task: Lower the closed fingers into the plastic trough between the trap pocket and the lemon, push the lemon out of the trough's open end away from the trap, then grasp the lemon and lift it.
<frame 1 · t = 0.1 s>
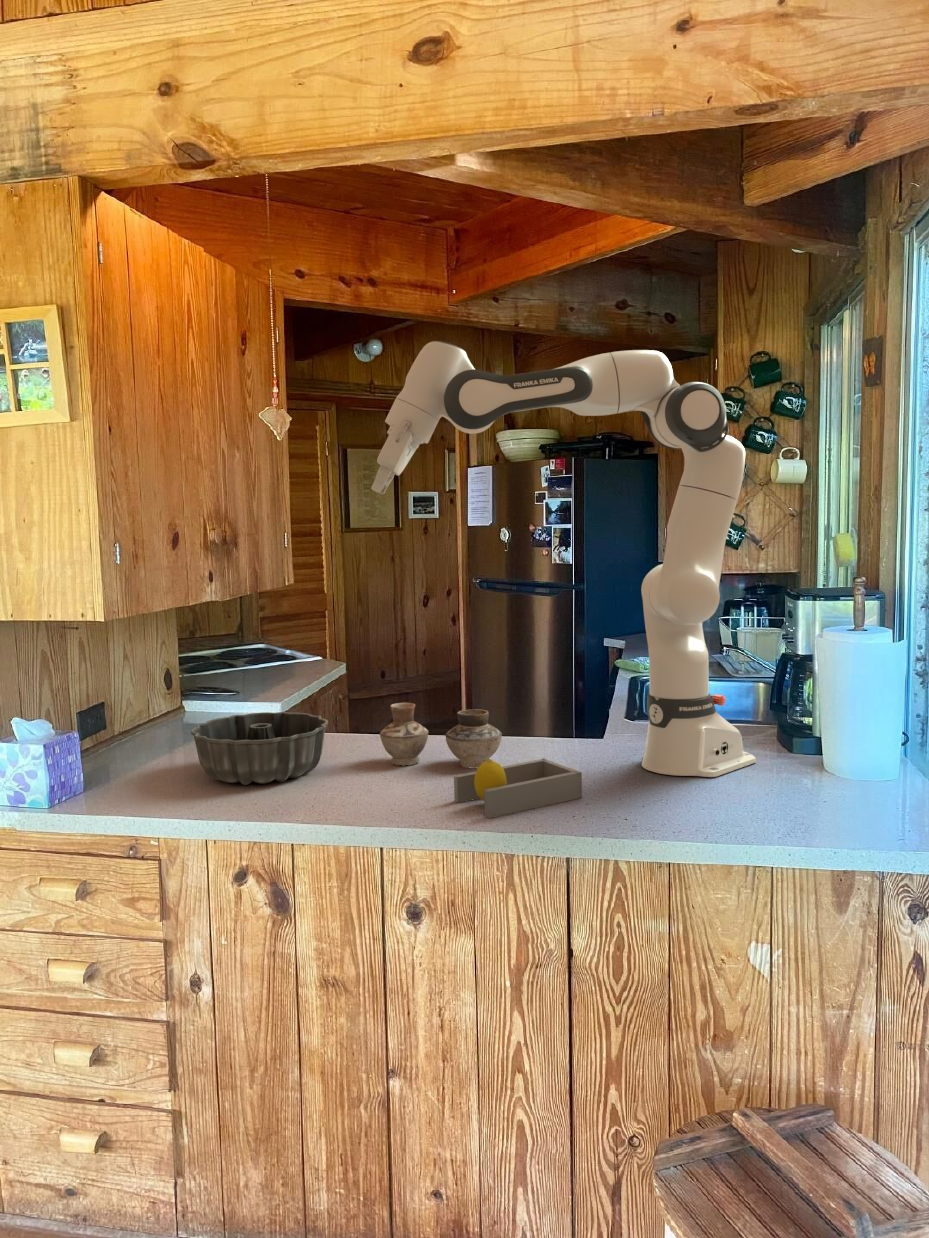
hand: (377, 492, 170), 54 cm above the worktop, tool tilted 30°, fingers open, 8 cm apart
trough: (501, 802, 158), on the worktop
pottery: (441, 764, 185), on the worktop
bundt pan: (263, 774, 182), on the worktop
lemon: (491, 806, 157), on the worktop
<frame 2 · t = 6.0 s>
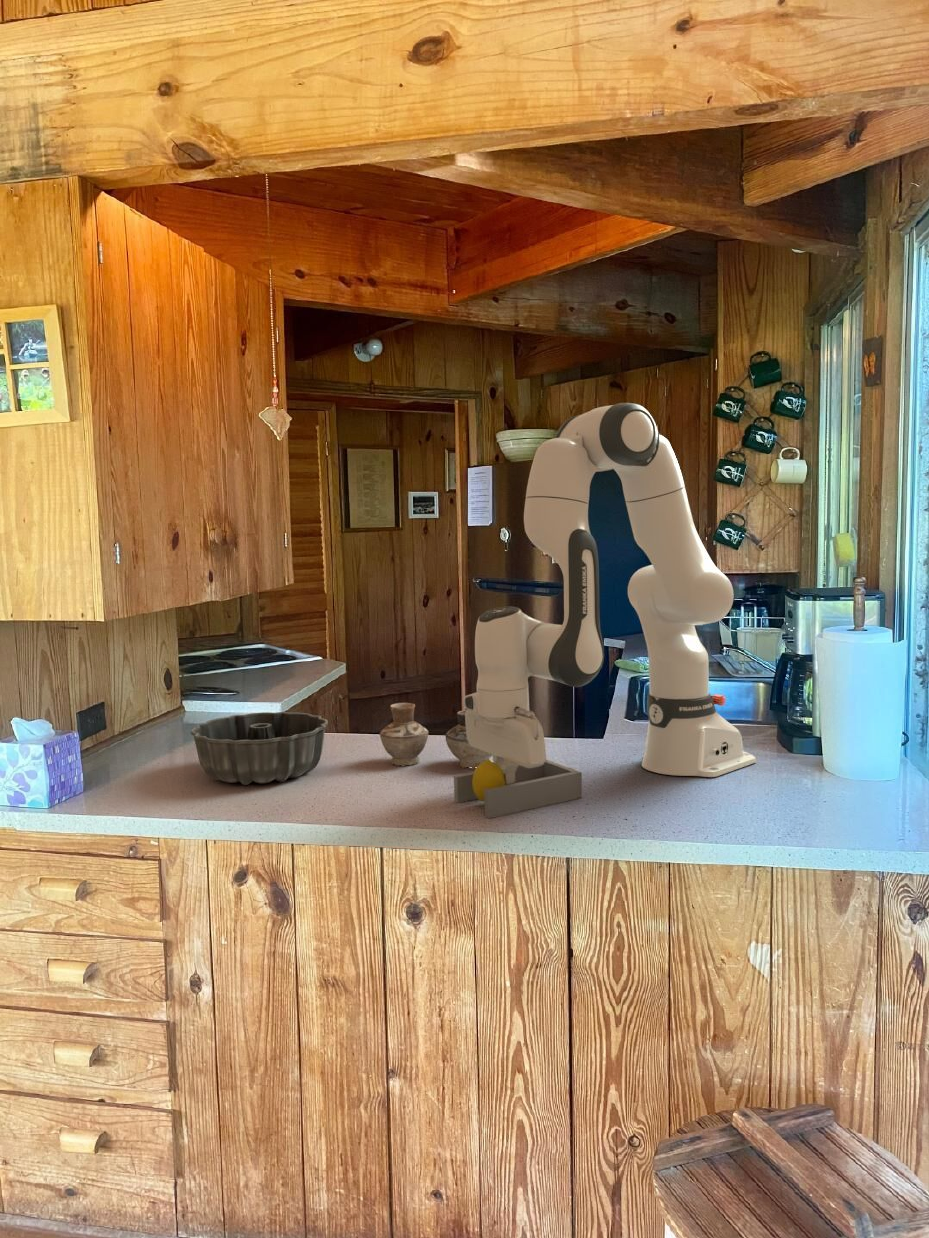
hand: (506, 781, 158), 4 cm above the worktop, tool pointing down, fingers closed, pressing on lemon
lemon: (489, 806, 157), on the worktop, touching gripper
everything else where it was.
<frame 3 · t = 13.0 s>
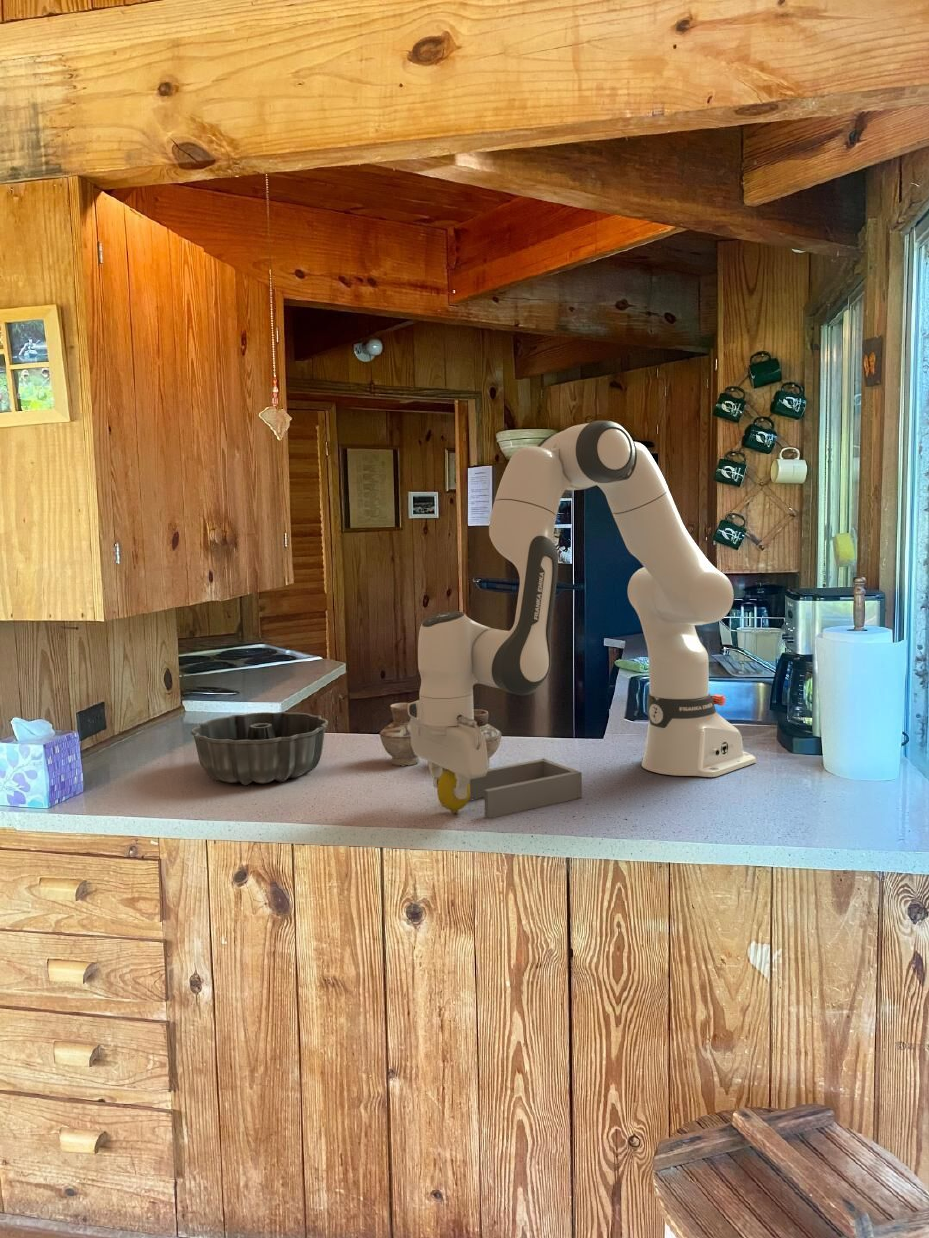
hand: (449, 792, 153), 4 cm above the worktop, tool pointing down, fingers closed on lemon, 6 cm apart
lemon: (454, 814, 153), on the worktop, touching gripper
everything else where it was.
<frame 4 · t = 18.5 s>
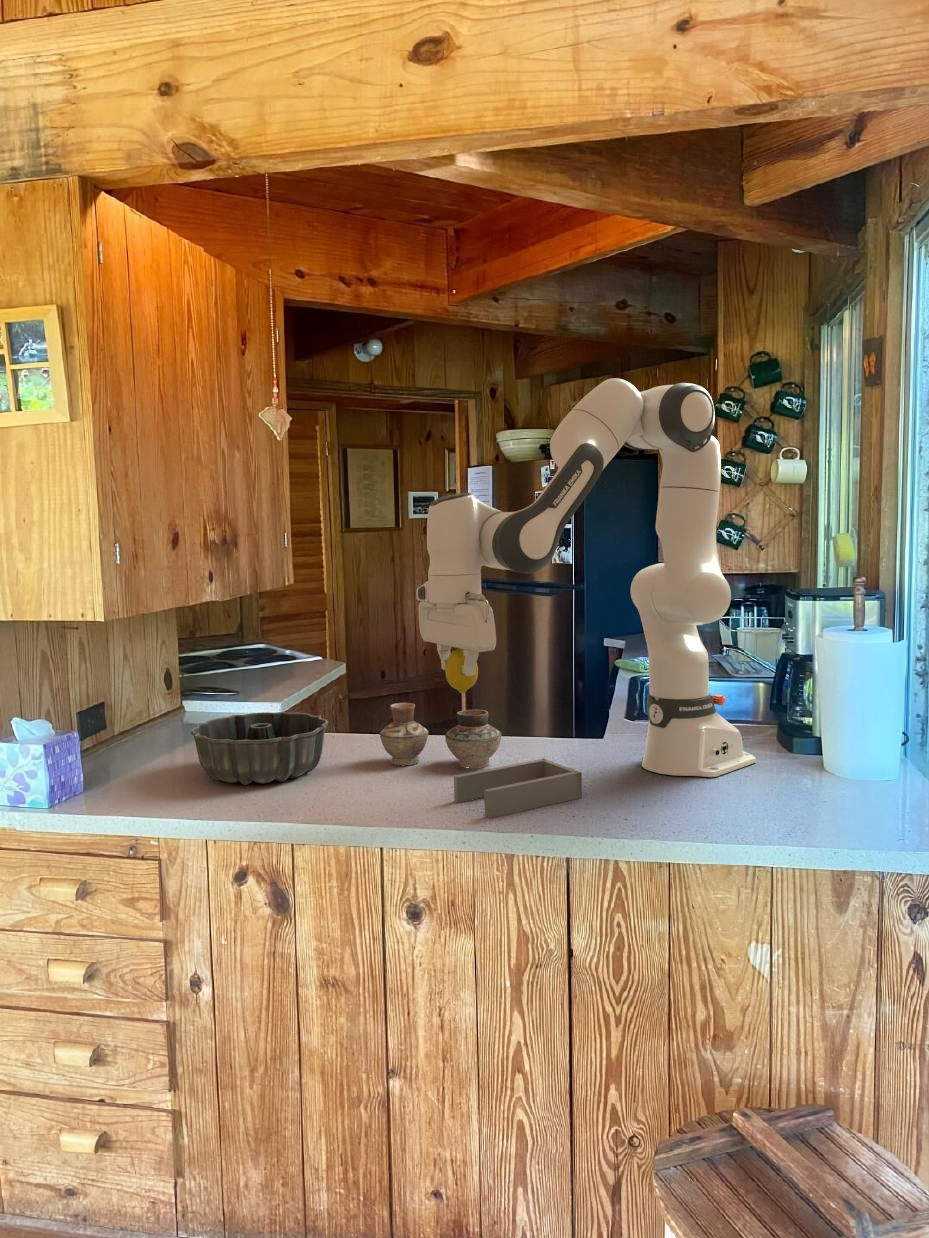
hand: (458, 672, 155), 23 cm above the worktop, tool pointing down, fingers closed on lemon, 5 cm apart
lemon: (462, 694, 156), point 19 cm above the worktop, touching gripper
everything else where it was.
at the end: the gripper is holding lemon; lemon inside the target area (4.3 cm from its centre), point 19.1 cm above the worktop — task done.
